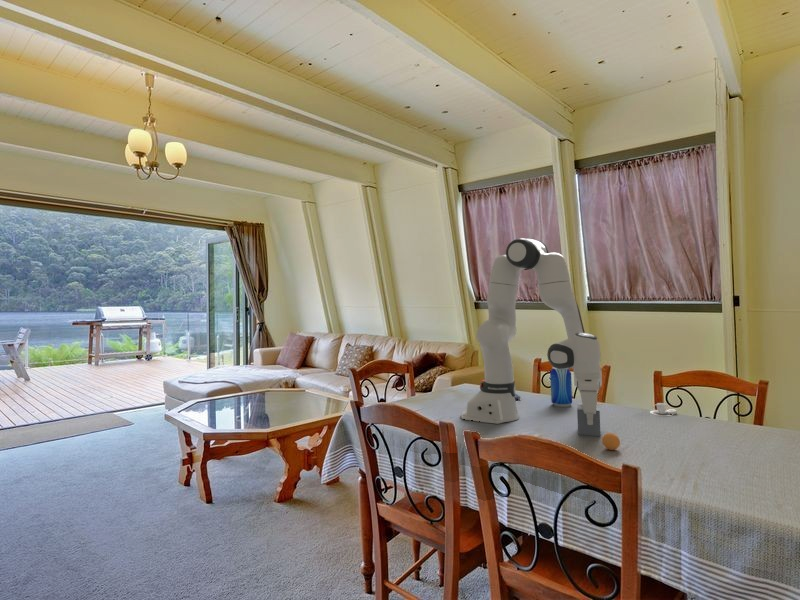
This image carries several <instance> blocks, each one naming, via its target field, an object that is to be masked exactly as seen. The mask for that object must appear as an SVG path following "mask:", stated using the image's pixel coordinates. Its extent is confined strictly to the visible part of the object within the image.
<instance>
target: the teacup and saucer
mask: <svg viewBox="0 0 800 600" xmlns="http://www.w3.org/2000/svg"><path fill="white" fill-rule="evenodd" d="M655 406H656V408H655ZM652 408H653V410H650V411H649V413H650V414H651V415H654V416H658V417H659V416H660V417H671V416H672V417H673V416H674V415H675V414H677V412H678V410H676V409H674V408H669V409H667V404H666V403H665V402H657V403H656V404H654V405H653V406H652ZM655 412H657V413H658V414H656V413H655ZM670 413H673V414H672V415H670ZM665 414H667V415H665Z"/></svg>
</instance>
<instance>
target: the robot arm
mask: <svg viewBox="0 0 800 600" xmlns="http://www.w3.org/2000/svg"><path fill="white" fill-rule="evenodd" d="M505 250H506V251H505V254H500V255H498V256H497V257H495V258H494V261H493V264H492V267H491V270H490V274H489V281H488V288H487V297H486V304H487V307H488V320H485V321H484V322H482V323H481V324H480V325H479V326H478V328H477V330H476V339H477V342H478V343H479V345H480V350H481V354H482V359H483V366H484V367H483V369H484V371H483V372H484V379H482V380H481V381H480V383H479V389H480V390H479V391H478V392H477V393H475V394H474V395H473V396H472V397H470V398H469V399H468V401H467V405H466V409H465V410H463V411H462V412H461V415H460V418H461V419H462V420H463V419H465V421H471V420H473V422H479V421H480V423H488V424H489V423H490V424H495V425H496V424H498V425H500V424H502V423H506V422H508V423H509V422H513V421H516V420H518V419H520V415H519V413H518V409H517V408H518V407H517V402H516V400H515V393H516V384H515V382H516V381H514V362H513V361H514V360H513V359H512V357H511V352H510V347H509V344H510V342H512V341H513V340H514V338H515V336H516V334H517V326H516V325H517V324H516V322H517V319H516V318H517V316H516V315H517V314H516V304H517V298H518V297H517V295H518V289H519V288H518V287H519V281H520V280H519V279H520V276H521V272H522V271H524V270H525V271H528V270H533V271H534V272H535V273H536V277H537V284H538V292H539V297H540V299H541V302H542V303H543V304H545V306H547V308H550V309H552V310H554V311H556V312H558V313H559V315H561V317H562V319H563V323H564V327H565V332H566V336H567V339H564V340H561V341H559V342H555V343H553V344H551V345H550V346H549V347H548V349H547V354H546V355H547V360H548V362H549V363H550V365H551V366H552V367H555V368H557V369H566V368H569V369H572V370H573V381H574V382H573V384H574V386H575V387H576V388H577V389H578V391H579V393H580V399H581V405H583V411H584V413H585V414H586V416H587V424H588V425H593V414H596V408H597V404H598V393H599V391H600V388H601V387H602V386H603V379H602V378H603V375H602V369H601V366H600V365H601V360H602V357H601V346H600V341H599V339H598V337H597V336H596V335H594V334H591V333H587V332H585V327H584V323H583V319H582V315H581V312H580V311H581V310H580V308H579V304H578V302H577V299H576V298H575V295H574V291H573V290H572V284H571V278H570V273H569V269H568V265H567V262H566V259H565V257H564V256H563V255H562V254H560V253H559V252H550V251H549V248H548V247H547V246H546V244H545V243H544V242H542V241H540V240H537V239H533V238H525V237H520V238H516V239H513V240H512V241H511V242H509V244H508V245H507V247H506V249H505Z"/></svg>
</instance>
